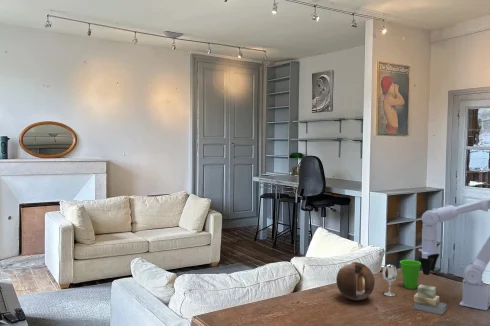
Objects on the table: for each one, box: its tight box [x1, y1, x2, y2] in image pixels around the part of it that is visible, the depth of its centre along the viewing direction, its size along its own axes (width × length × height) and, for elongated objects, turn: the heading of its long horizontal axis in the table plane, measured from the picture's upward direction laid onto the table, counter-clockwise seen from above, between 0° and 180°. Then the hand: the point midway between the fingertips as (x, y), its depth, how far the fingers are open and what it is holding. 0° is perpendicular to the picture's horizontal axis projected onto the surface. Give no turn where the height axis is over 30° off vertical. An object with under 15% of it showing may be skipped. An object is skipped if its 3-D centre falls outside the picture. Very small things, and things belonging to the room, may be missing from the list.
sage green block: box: [413, 284, 440, 305], centre depth 166 cm, size 8×6×6 cm
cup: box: [399, 259, 421, 290], centre depth 190 cm, size 9×9×11 cm
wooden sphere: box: [335, 261, 375, 301], centre depth 174 cm, size 15×15×15 cm
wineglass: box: [382, 264, 398, 297], centre depth 180 cm, size 6×6×12 cm
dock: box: [413, 301, 448, 316], centre depth 164 cm, size 10×8×2 cm
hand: (428, 272), depth 176 cm, fingers open, 7 cm apart
